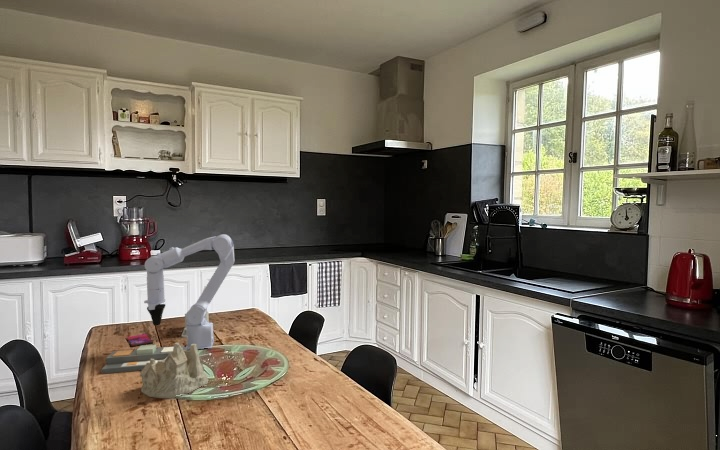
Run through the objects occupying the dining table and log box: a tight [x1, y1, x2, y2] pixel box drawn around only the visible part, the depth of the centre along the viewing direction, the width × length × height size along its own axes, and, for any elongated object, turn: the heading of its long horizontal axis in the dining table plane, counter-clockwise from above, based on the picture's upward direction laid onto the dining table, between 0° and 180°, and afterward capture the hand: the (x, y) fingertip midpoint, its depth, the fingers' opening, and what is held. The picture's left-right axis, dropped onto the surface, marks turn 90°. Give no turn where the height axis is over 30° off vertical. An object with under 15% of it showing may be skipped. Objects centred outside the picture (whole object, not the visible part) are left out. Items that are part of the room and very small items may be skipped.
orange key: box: [112, 349, 133, 357], centre depth 149 cm, size 5×5×2 cm
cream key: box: [161, 346, 174, 353], centre depth 152 cm, size 5×5×2 cm
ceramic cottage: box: [139, 342, 209, 399], centre depth 129 cm, size 16×16×15 cm
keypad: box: [101, 344, 188, 375], centre depth 150 cm, size 23×16×4 cm
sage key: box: [136, 343, 157, 355], centre depth 150 cm, size 5×5×2 cm
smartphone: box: [126, 333, 154, 348], centre depth 175 cm, size 8×1×15 cm
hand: (157, 324), depth 163 cm, fingers closed
